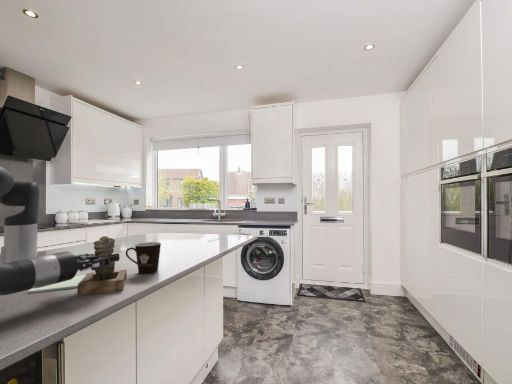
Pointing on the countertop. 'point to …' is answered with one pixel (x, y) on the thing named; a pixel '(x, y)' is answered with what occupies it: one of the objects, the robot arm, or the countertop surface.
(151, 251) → the coffee mug
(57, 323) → the countertop surface
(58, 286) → the mat
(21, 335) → the countertop surface
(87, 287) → the brown wooden square frame
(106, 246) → the light bulb
